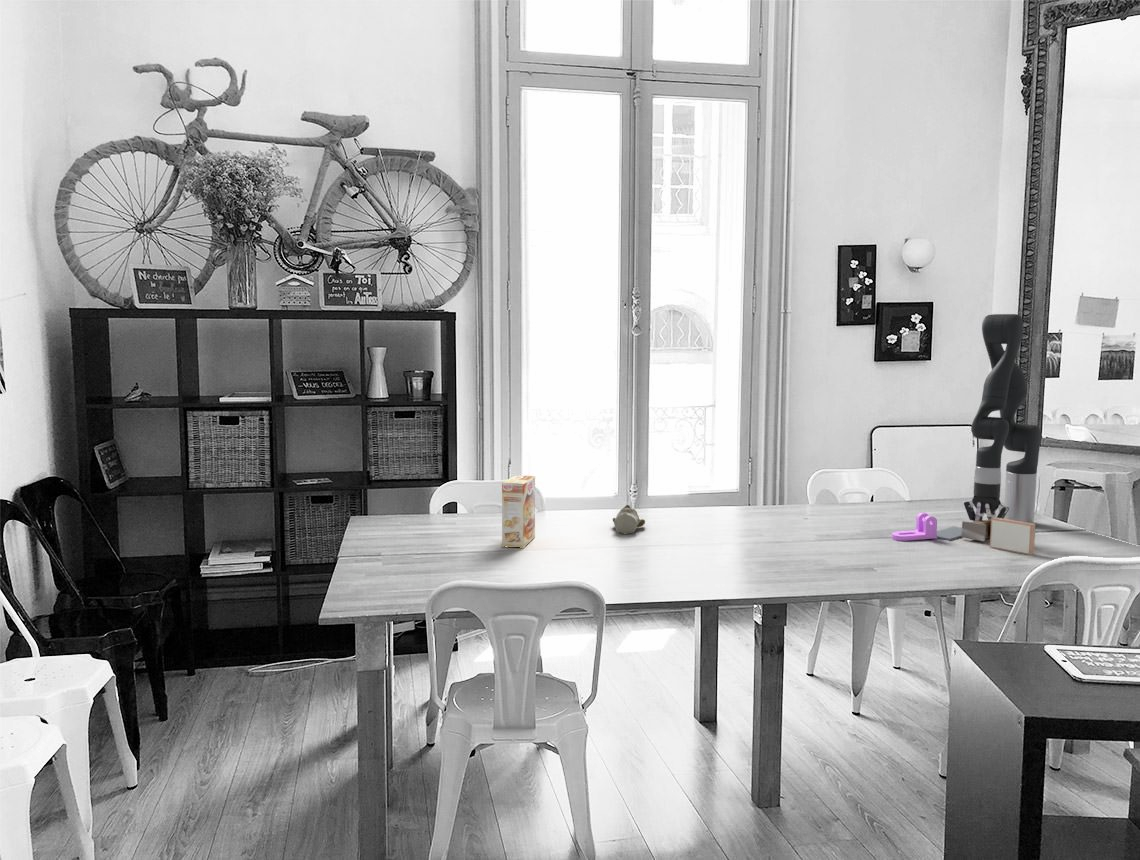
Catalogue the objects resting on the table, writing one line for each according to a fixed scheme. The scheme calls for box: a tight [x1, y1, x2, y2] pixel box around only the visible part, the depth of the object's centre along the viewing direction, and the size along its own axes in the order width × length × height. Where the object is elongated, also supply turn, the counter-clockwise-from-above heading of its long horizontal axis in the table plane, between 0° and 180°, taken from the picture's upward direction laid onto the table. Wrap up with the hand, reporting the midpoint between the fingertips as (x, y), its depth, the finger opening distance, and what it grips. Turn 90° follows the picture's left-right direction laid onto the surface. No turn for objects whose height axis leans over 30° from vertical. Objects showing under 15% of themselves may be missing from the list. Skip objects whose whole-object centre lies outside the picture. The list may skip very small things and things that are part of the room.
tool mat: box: [936, 525, 962, 542], centre depth 297 cm, size 18×8×1 cm, turn 130°
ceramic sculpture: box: [612, 504, 646, 535], centre depth 301 cm, size 11×9×15 cm
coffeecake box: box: [501, 474, 536, 549], centre depth 284 cm, size 15×7×20 cm, turn 168°
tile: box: [989, 516, 1036, 556], centre depth 275 cm, size 2×12×9 cm, turn 40°
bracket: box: [891, 512, 938, 542], centre depth 291 cm, size 13×6×7 cm, turn 99°
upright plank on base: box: [961, 519, 990, 542], centre depth 291 cm, size 12×7×5 cm, turn 130°
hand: (984, 535), depth 292 cm, fingers closed on upright plank on base, 3 cm apart
